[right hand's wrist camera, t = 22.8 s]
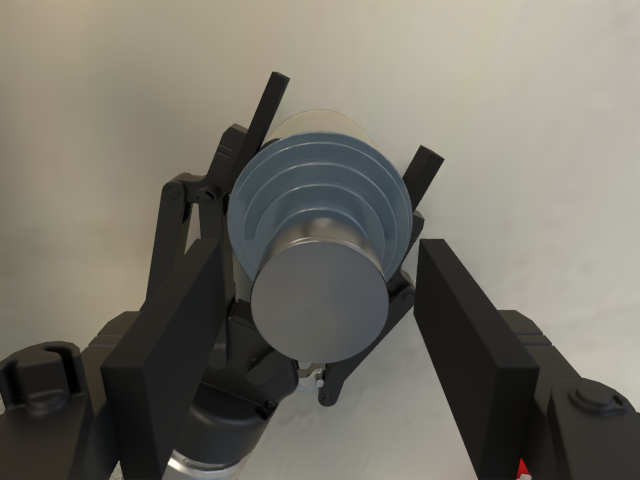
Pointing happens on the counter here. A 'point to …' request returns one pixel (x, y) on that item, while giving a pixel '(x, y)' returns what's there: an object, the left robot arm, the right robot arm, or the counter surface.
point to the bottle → (319, 189)
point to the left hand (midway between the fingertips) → (358, 114)
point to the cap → (319, 292)
